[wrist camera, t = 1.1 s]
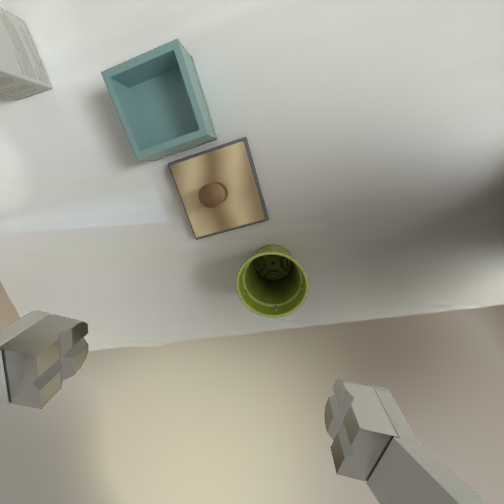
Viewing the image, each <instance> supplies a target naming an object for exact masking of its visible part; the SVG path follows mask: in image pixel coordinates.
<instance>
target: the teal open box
mask: <svg viewBox="0 0 504 504" xmlns="http://www.w3.org/2000/svg"><path fill="white" fill-rule="evenodd" d="M101 74H102V76H103V79H104V81H105V83H106V86H107V88H108V91H109V93H110V96H111V98H112V101H113V103H114V105H115V108H116V110H117V113H118V115H119V118H120V120H121V122H122V125H123V127H124V130H125V132H126V135H127V137H128V140H129V142H130V144H131V147H132V149H133V152H134V154H135V157H136V159H137V160H151V161H156V160H159V159H161V158H164V157H167V156H170V155H173V154H176V153H179V152H182V151H185V150H187V149H190V148H193V147H196V146H199V145H202V144H205V143H208V142H211V141H214V140H216V139H217V136H216V133H215V130H214V127H213V123H212V120H211V117H210V114H209V110H208V107H207V104H206V101H205V97H204V94H203V91H202V88H201V84H200V81H199V78H198V75H197V71H196V68H195V65H194V62H193V58H192V57H191V56H190V54H189V53H188V52H187V50H186V49H185V48H184V46H183V45H182V44H181V42H180V41H179V40H178V39H175V40H173V41H171V42H168V43H166V44H164V45H162V46H159V47H157V48H155V49H153V50H150V51H148V52H146V53H143V54H141V55H139V56H137V57H134V58H132V59H130V60H128V61H125V62H123V63H121V64H118V65H116V66H114V67H112V68H109V69H107V70H105V71H103V72H101Z"/></svg>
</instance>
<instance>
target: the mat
mask: <svg viewBox="0 0 504 504" xmlns="http://www.w3.org/2000/svg"><path fill="white" fill-rule="evenodd" d="M241 141H243V142H244V146H245V150H246V153H247V157H248V160H249V164H250V167H251V171H252V175H253V178H254V182H255V185H256V189H257V193H258V196H259V200H260V203H261V207H262V210H263V214H264V219H263V220H260V221H256V222H252V223H249V224H245V225H241V226H238V227H234V228H230V229H226V230H223V231H219V232H215V233H212V234H208V235H204V236H201V237H197V238H196V240H197V239H201V238H205V237H208V236H212V235H216V234H219V233H223V232H227V231H231V230H234V229H238V228H242V227H245V226H249V225H253V224H256V223H260V222H264V221H268V220H269V218H268V215H267V211H266V208H265V204H264V200H263V197H262V193H261V189H260V186H259V182H258V178H257V175H256V171H255V167H254V164H253V160H252V157H251V153H250V149H249V146H248V142H247V138H246V137H244V138H241V139H238V140H235V141H232V142H229V143H227V144H224V145H221V146H218V147H215V148H212V149H209V150H206V151H203V152H200V153H197V154H194V155H191V156H188V157H185V158H182V159H179V160H176V161H174V162H171V163H168V165H169V168H170V165H173V164H176V163H179V162H182V161H185V160H188V159H191V158H194V157H197V156H200V155H203V154H206V153H209V152H212V151H215V150H218V149H221V148H224V147H227V146H230V145H233V144H235V143H238V142H241ZM170 171H171V169H170ZM171 173H172V172H171ZM172 176H173V174H172ZM173 179H174V177H173ZM174 181H175V180H174ZM175 184H176V182H175ZM176 187H177V185H176ZM177 189H178V188H177ZM178 192H179V190H178ZM179 195H180V193H179ZM180 197H181V196H180ZM181 200H182V198H181ZM182 203H183V201H182ZM183 205H184V204H183ZM184 208H185V206H184ZM185 211H186V209H185ZM186 213H187V212H186ZM187 216H188V214H187ZM188 219H189V217H188ZM189 221H190V220H189ZM190 224H191V222H190ZM191 227H192V225H191ZM192 229H193V228H192ZM193 232H194V230H193ZM194 235H195V233H194ZM195 237H196V236H195Z"/></svg>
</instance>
